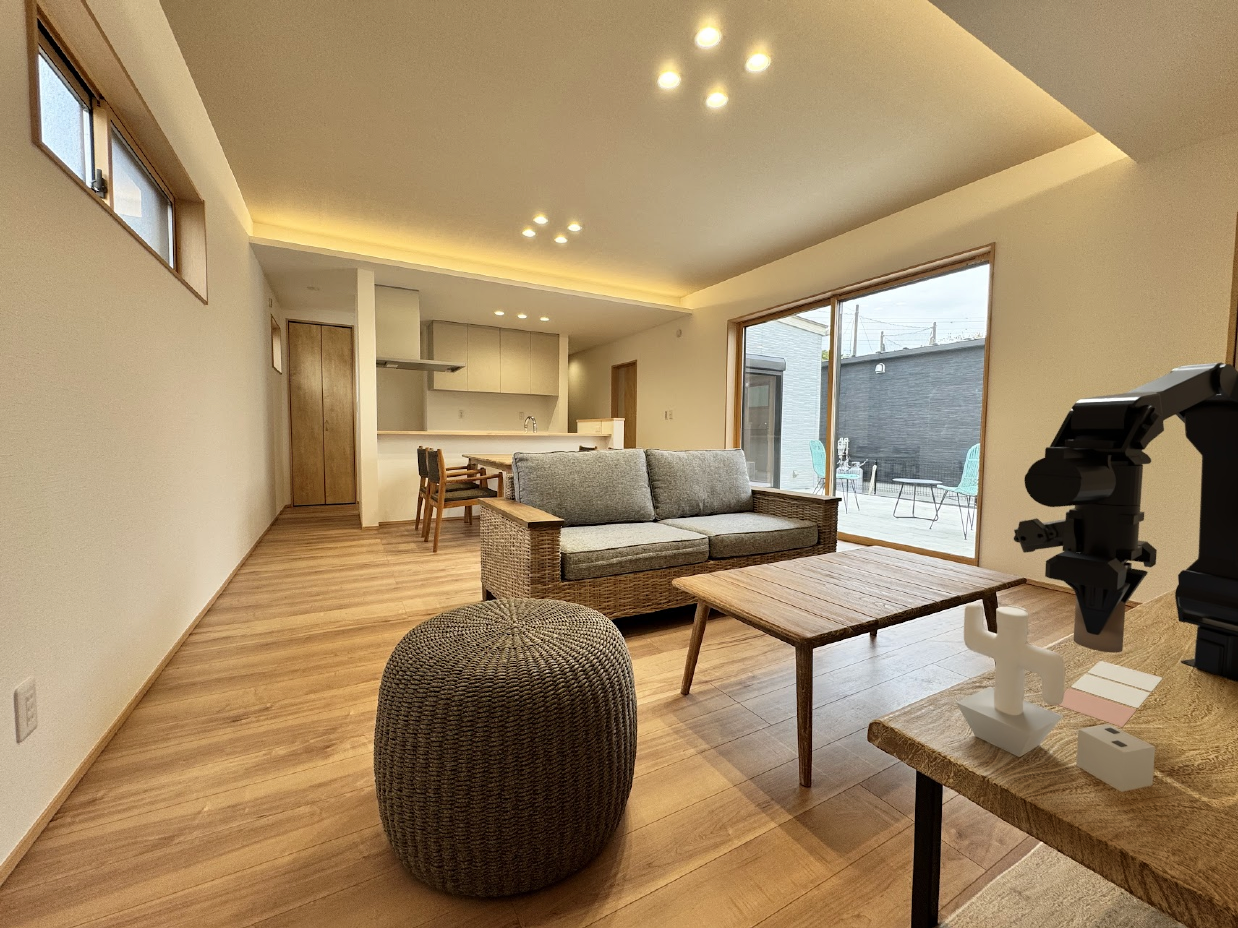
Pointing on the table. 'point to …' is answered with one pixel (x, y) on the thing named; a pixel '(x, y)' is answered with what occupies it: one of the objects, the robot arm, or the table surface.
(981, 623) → the figurine
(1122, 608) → the pawn
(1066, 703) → the game board
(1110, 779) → the cream box with slots
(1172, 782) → the table surface
